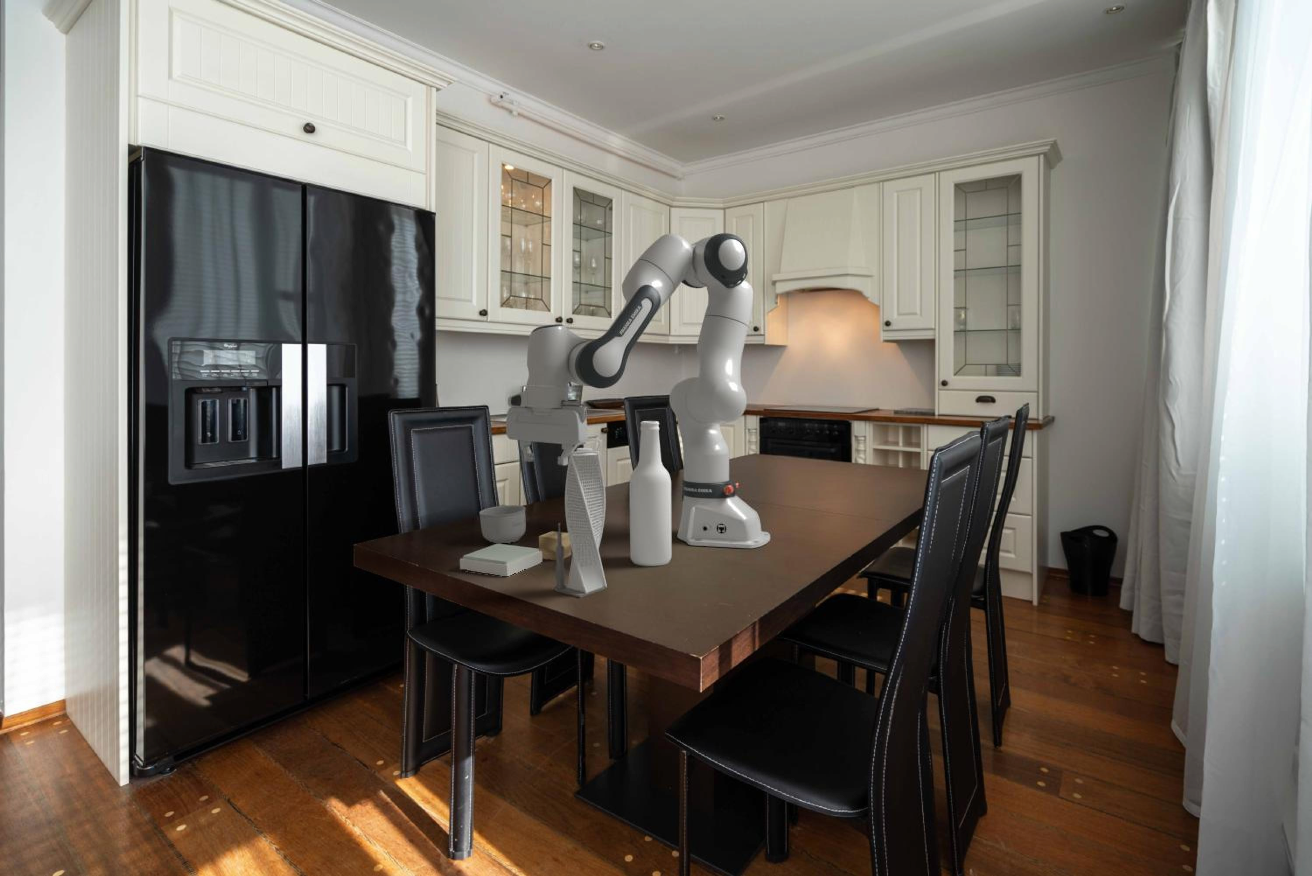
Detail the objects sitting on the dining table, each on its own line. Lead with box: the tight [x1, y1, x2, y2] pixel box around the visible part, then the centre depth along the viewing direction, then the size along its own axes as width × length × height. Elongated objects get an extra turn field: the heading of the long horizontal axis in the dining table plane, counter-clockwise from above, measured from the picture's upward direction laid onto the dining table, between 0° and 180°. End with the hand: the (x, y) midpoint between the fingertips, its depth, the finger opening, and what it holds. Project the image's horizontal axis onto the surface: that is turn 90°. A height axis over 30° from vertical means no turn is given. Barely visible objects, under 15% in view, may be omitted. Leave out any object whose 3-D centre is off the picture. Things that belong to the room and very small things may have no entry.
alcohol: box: [629, 420, 673, 567], centre depth 145 cm, size 9×9×30 cm
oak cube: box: [538, 530, 572, 561], centre depth 151 cm, size 5×5×5 cm
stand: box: [459, 544, 543, 577], centre depth 143 cm, size 12×12×3 cm
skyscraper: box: [553, 438, 608, 599], centre depth 127 cm, size 8×8×28 cm
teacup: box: [479, 504, 527, 544], centre depth 166 cm, size 14×11×8 cm
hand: (545, 463), depth 149 cm, fingers open, 8 cm apart
